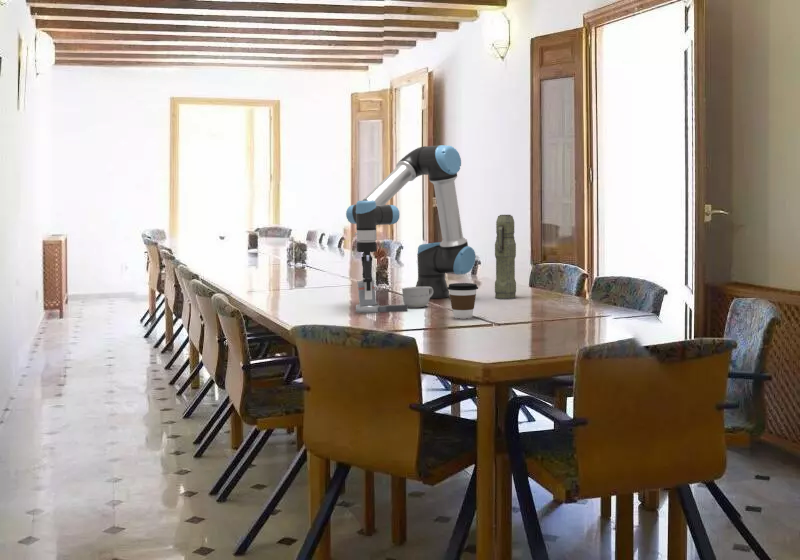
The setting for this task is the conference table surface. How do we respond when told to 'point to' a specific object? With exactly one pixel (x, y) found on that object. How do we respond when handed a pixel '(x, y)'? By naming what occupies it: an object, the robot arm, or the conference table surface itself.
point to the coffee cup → (462, 299)
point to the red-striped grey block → (362, 294)
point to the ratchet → (380, 308)
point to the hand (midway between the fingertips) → (367, 297)
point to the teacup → (416, 296)
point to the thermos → (505, 258)
